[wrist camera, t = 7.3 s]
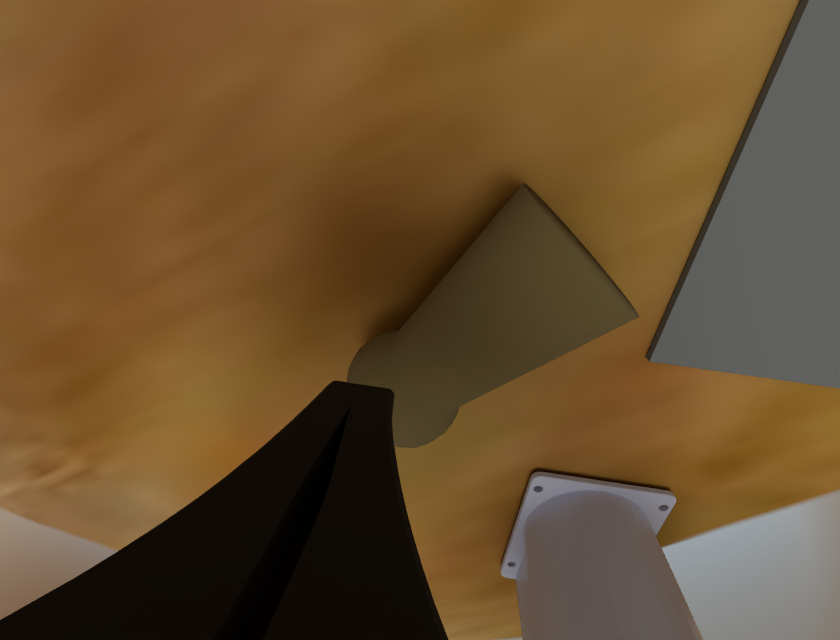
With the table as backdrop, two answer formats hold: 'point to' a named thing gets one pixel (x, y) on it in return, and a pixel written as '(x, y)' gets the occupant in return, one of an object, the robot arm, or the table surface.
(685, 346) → the topple mat
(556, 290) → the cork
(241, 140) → the table surface
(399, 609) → the robot arm
